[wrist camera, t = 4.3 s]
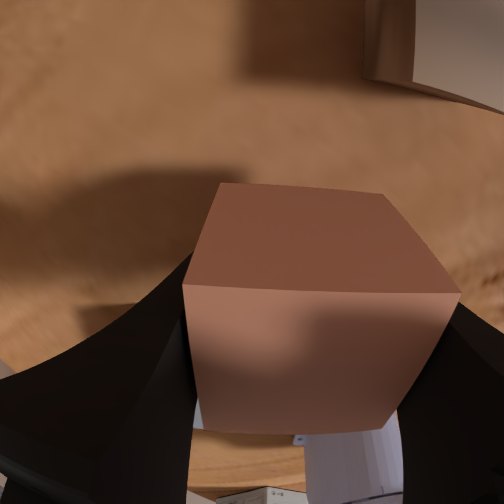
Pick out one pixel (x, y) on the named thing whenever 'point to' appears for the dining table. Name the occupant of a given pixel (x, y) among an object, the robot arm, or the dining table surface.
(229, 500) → the supplement box
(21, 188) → the dining table surface
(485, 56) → the walnut block
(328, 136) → the dining table surface
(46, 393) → the robot arm
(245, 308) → the terracotta block
